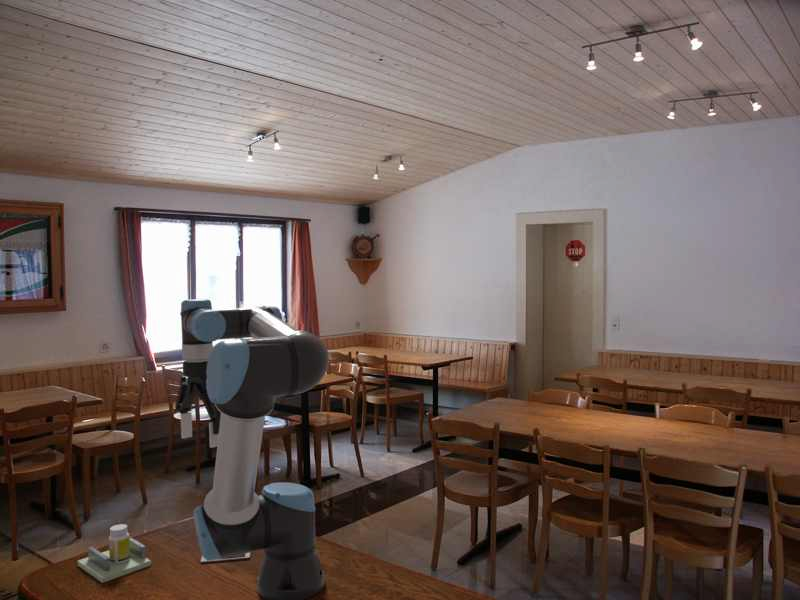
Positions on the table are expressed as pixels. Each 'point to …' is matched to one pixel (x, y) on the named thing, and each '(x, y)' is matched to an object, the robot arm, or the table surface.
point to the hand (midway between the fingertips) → (200, 442)
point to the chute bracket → (104, 561)
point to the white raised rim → (226, 559)
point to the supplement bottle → (119, 544)
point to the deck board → (114, 567)
